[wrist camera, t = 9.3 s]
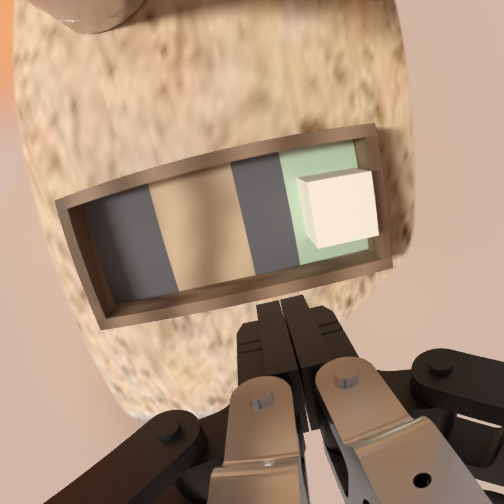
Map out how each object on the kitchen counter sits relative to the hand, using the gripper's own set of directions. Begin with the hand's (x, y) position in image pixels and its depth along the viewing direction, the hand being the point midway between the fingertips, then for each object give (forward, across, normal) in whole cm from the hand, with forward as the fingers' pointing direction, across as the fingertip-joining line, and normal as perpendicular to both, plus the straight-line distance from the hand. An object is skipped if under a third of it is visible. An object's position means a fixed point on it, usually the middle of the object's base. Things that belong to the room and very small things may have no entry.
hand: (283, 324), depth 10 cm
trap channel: (+18, +2, 0) cm, 19 cm away
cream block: (+18, -7, 0) cm, 19 cm away
